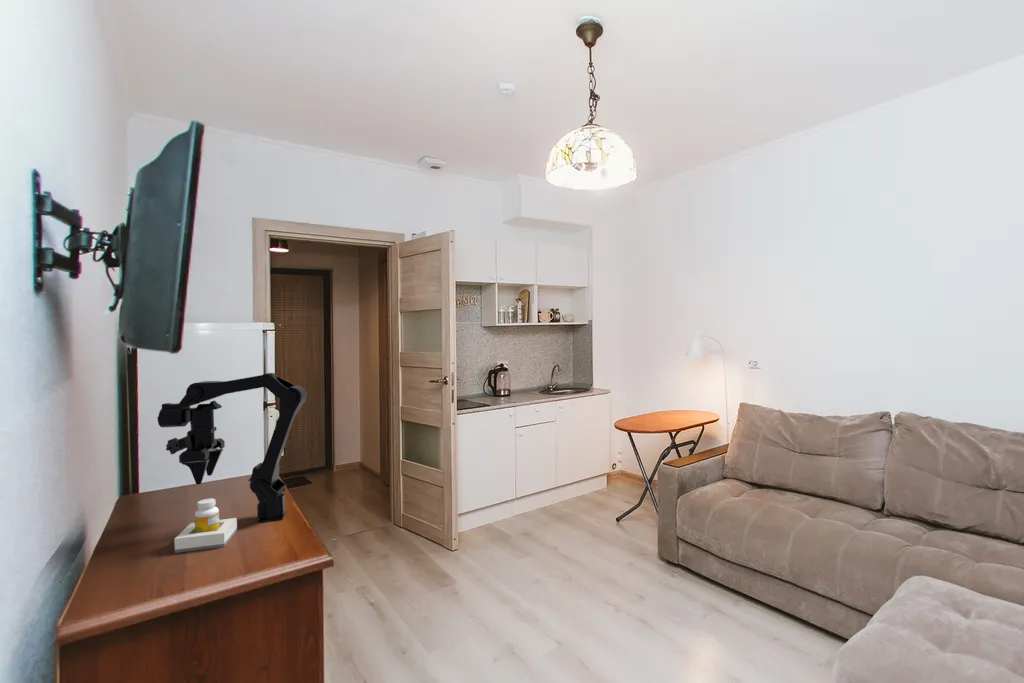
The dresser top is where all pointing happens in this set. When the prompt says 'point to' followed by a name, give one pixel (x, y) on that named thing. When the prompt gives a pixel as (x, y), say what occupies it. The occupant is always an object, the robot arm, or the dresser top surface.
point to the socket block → (205, 537)
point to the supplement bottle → (206, 516)
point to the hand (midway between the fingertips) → (204, 479)
